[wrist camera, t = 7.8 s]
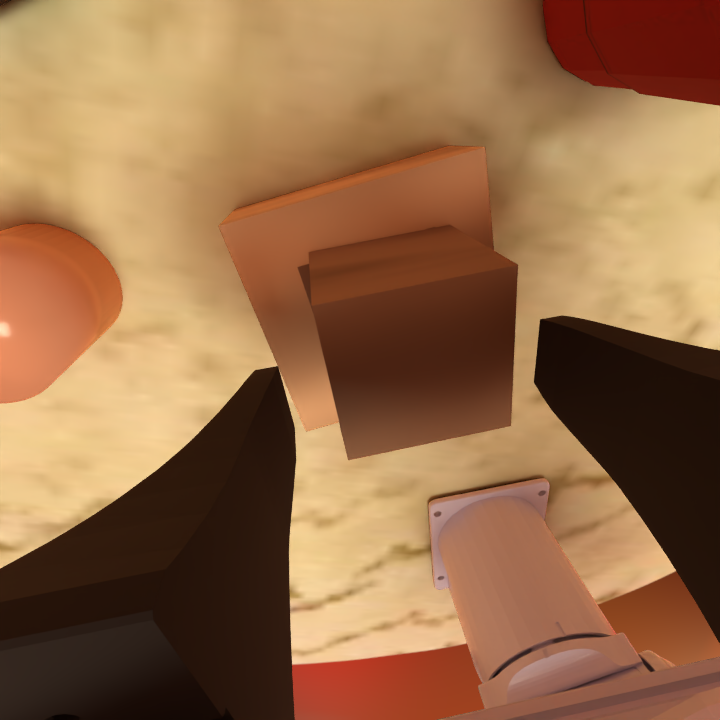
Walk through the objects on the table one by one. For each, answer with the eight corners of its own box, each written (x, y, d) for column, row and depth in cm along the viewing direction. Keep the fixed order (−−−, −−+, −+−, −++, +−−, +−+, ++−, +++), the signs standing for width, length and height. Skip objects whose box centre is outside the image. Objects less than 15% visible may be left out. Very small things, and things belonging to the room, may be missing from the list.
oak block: (470, 335, 21) (504, 374, 17) (305, 383, 21) (306, 431, 17) (445, 145, 16) (485, 147, 13) (235, 208, 16) (218, 226, 13)
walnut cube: (455, 349, 16) (510, 425, 12) (335, 373, 16) (348, 460, 12) (450, 224, 14) (517, 264, 9) (308, 252, 14) (311, 305, 9)
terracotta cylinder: (141, 328, 18) (90, 388, 14) (28, 348, 18) (-61, 415, 13) (89, 213, 16) (7, 242, 11) (-42, 234, 15) (-179, 271, 11)
